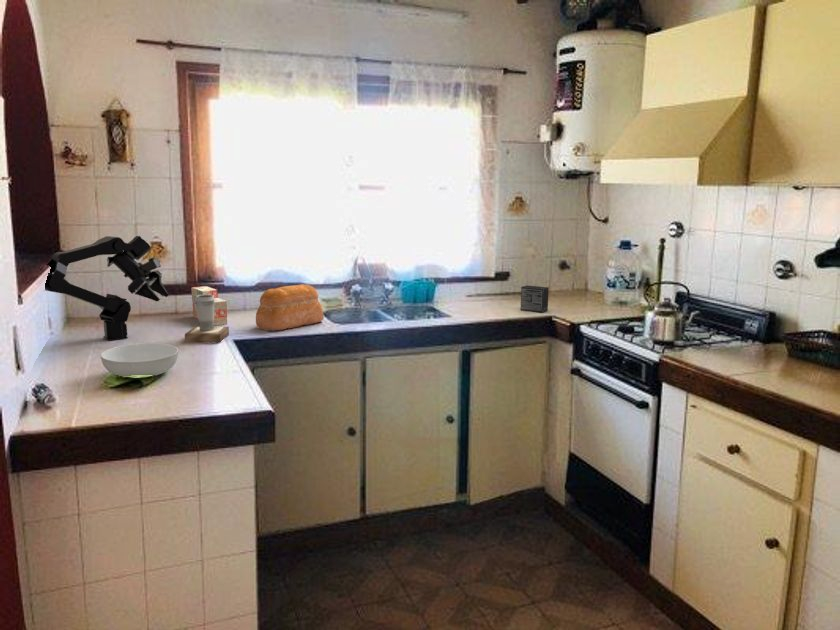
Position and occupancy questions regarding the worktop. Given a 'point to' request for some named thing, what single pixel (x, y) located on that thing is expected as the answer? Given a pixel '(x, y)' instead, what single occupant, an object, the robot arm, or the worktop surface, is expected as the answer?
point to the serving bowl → (140, 359)
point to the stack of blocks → (219, 304)
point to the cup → (205, 312)
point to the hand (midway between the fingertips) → (163, 298)
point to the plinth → (206, 335)
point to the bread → (288, 308)
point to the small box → (534, 298)
